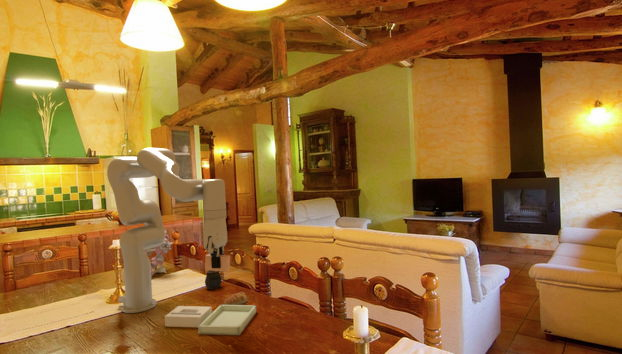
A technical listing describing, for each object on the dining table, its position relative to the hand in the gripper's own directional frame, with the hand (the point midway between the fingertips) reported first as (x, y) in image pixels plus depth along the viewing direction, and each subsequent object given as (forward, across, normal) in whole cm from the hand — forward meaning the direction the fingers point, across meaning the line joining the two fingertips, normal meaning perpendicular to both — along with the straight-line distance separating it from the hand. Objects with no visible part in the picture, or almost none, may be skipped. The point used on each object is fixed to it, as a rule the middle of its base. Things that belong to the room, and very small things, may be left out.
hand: (218, 266), depth 120 cm
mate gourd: (+20, -34, -18) cm, 43 cm away
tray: (+20, 0, +3) cm, 20 cm away
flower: (+19, -50, -59) cm, 79 cm away
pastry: (+20, -17, -1) cm, 27 cm away
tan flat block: (-1, 0, +4) cm, 4 cm away
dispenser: (+20, 0, -12) cm, 23 cm away
